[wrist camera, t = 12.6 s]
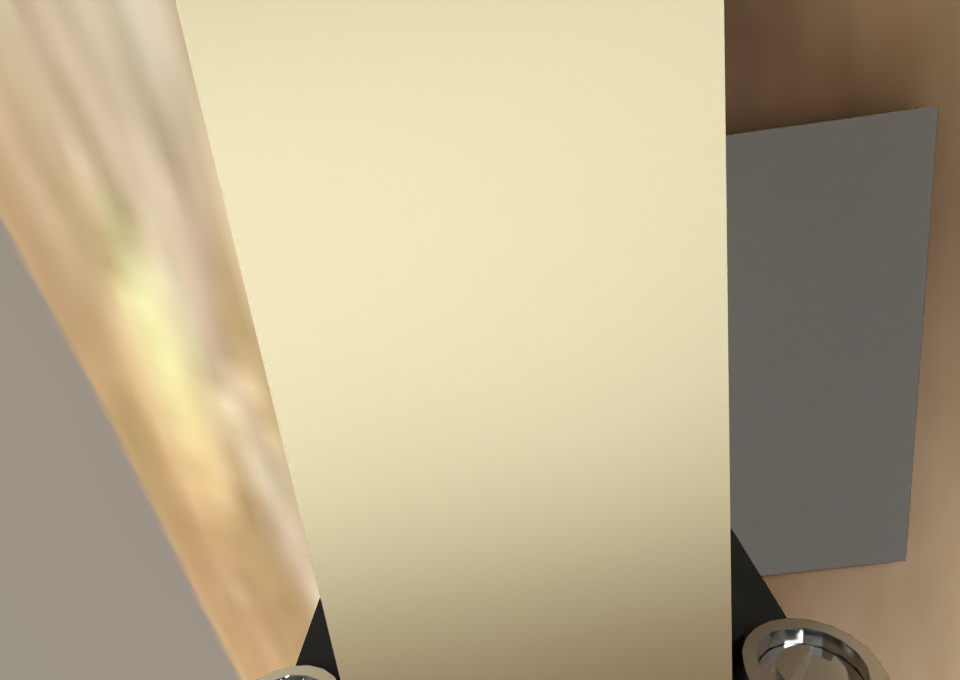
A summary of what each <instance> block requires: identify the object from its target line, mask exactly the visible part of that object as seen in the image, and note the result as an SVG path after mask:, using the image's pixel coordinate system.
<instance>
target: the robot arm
mask: <svg viewBox="0 0 960 680" xmlns="http://www.w3.org/2000/svg"><path fill="white" fill-rule="evenodd" d="M730 539H731V622H732V680H890V678H889V676H888V675H887V673H886V671H885V670H884V668H883V666H882V665H881V663H880V662H879V661H878V660H877V658H876V657H875V656H874V655H873V653H872V652H871V651H870V650H869V649H868V648H867V647H866V646H865V645H863V644H862V643H861V642H859V641H858V640H857V639H855V638H854V637H853V636H851V635H850V634H847V633H845V632H843V631H841V630H839V629H837V628H835V627H833V626H831V625H827V624H824V623H820V622H816V621H813V620H807V619H794V618H787V617H786V616H785V614H784V612H783V611H782V609H781V608H780V606H779V604H778V603H777V601H776V599H775V598H774V596H773V595H772V593H771V591H770V590H769V588H768V587H767V585H766V583H765V582H764V580H763V578H762V577H761V575H760V574H759V572H758V570H757V569H756V567H755V566H754V564H753V562H752V561H751V559H750V557H749V556H748V554H747V553H746V551H745V549H744V548H743V546H742V545H741V543H740V541H739V540H738V538H737V536H736V535H735V533H734V532H733V530H732V528H731V527H730ZM257 680H340V676H339V672H338V668H337V664H336V660H335V655H334V651H333V647H332V643H331V639H330V635H329V631H328V627H327V623H326V618H325V614H324V610H323V606H322V602H321V598H320V599H319V602H318V605H317V608H316V610H315V613H314V616H313V619H312V622H311V624H310V627H309V630H308V633H307V636H306V638H305V641H304V644H303V647H302V650H301V652H300V655H299V658H298V661H297V664H296V666H290V667H287V668H283V669H279V670H276V671H273V672H271V673H269V674H267V675H265V676H263V677H261V678H259V679H257Z"/></svg>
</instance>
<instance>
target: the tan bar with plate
mask: <svg viewBox="0 0 960 680" xmlns="http://www.w3.org/2000/svg"><path fill="white" fill-rule="evenodd" d="M175 2H176V6H177V10H178V14H179V18H180V22H181V27H182V31H183V35H184V39H185V43H186V47H187V51H188V55H189V59H190V63H191V68H192V72H193V76H194V80H195V84H196V88H197V92H198V96H199V100H200V105H201V109H202V113H203V117H204V121H205V125H206V129H207V133H208V137H209V142H210V146H211V150H212V154H213V158H214V162H215V166H216V170H217V174H218V179H219V183H220V187H221V191H222V195H223V199H224V203H225V207H226V211H227V216H228V220H229V224H230V228H231V232H232V236H233V240H234V244H235V248H236V253H237V257H238V261H239V265H240V269H241V273H242V277H243V281H244V285H245V290H246V294H247V298H248V302H249V306H250V310H251V314H252V318H253V322H254V327H255V331H256V335H257V339H258V343H259V347H260V351H261V355H262V359H263V364H264V368H265V372H266V376H267V380H268V384H269V388H270V392H271V396H272V401H273V405H274V409H275V413H276V417H277V421H278V425H279V429H280V433H281V438H282V442H283V446H284V450H285V454H286V458H287V462H288V466H289V470H290V475H291V479H292V483H293V487H294V491H295V495H296V499H297V503H298V507H299V512H300V516H301V520H302V524H303V528H304V532H305V536H306V540H307V544H308V549H309V553H310V557H311V561H312V565H313V569H314V573H315V577H316V581H317V586H318V590H319V594H320V598H321V602H322V606H323V610H324V614H325V618H326V623H327V627H328V631H329V635H330V639H331V643H332V647H333V651H334V655H335V660H336V664H337V668H338V672H339V676H340V680H732V622H731V539H730V456H729V373H728V290H727V207H726V123H725V40H724V0H175Z"/></svg>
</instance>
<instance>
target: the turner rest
mask: <svg viewBox="0 0 960 680" xmlns="http://www.w3.org/2000/svg"><path fill="white" fill-rule="evenodd" d="M937 119H938V106H935V107H921V108H914V109H907V110H900V111H892V112H885V113H878V114H871V115H864V116H856V117H849V118H842V119H835V120H828V121H820V122H813V123H806V124H799V125H792V126H785V127H777V128H770V129H763V130H756V131H749V132H741V133H734V134H727V135H726V207H727V290H728V373H729V456H730V527H731V528H732V530H733V532H734V533H735V535H736V536H737V538H738V540H739V541H740V543H741V545H742V546H743V548H744V549H745V551H746V553H747V554H748V556H749V557H750V559H751V561H752V562H753V564H754V566H755V567H756V569H757V570H758V572H759V574H760V575H761V576H766V575H775V574H785V573H794V572H803V571H813V570H822V569H831V568H841V567H850V566H859V565H869V564H878V563H888V562H897V561H906V551H907V537H908V524H909V510H910V496H911V482H912V468H913V454H914V440H915V426H916V412H917V398H918V384H919V370H920V356H921V342H922V328H923V314H924V300H925V287H926V273H927V259H928V245H929V231H930V217H931V203H932V189H933V175H934V161H935V147H936V133H937Z"/></svg>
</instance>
